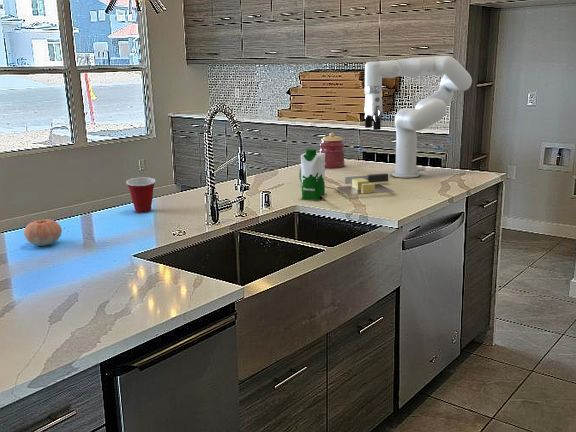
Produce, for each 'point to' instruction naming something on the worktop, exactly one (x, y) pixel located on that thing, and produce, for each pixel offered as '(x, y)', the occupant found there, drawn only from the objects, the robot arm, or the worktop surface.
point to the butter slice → (368, 188)
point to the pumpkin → (42, 232)
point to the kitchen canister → (333, 151)
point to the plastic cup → (141, 193)
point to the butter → (359, 183)
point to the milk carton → (313, 175)
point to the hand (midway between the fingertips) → (372, 128)
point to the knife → (368, 178)
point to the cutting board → (352, 191)
